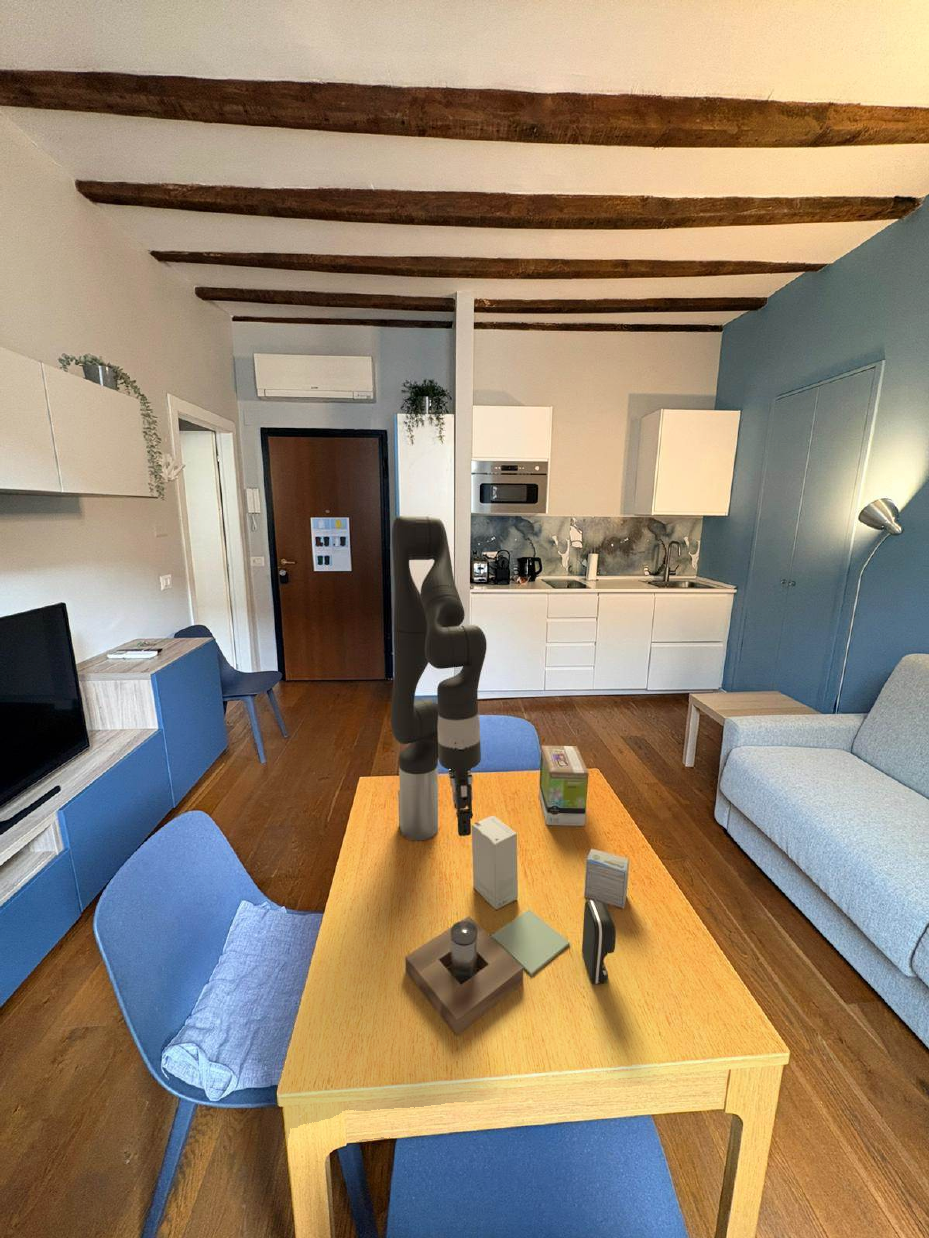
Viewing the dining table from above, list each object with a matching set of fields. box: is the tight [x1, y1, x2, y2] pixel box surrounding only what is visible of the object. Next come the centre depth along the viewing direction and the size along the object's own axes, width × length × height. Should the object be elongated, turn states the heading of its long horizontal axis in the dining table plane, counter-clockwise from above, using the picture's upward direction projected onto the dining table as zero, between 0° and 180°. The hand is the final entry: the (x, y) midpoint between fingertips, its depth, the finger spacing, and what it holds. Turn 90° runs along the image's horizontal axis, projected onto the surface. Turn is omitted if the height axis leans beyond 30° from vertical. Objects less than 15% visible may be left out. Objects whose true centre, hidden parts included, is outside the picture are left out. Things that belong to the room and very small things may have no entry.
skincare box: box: [471, 815, 519, 910], centre depth 103 cm, size 8×6×15 cm
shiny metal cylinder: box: [450, 920, 478, 985], centre depth 84 cm, size 4×4×9 cm
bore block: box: [404, 915, 524, 1037], centre depth 85 cm, size 14×14×3 cm
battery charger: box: [581, 899, 617, 985], centre depth 86 cm, size 7×4×11 cm, turn 2°
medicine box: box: [583, 848, 630, 910], centre depth 103 cm, size 8×4×9 cm, turn 65°
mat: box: [490, 908, 571, 976], centre depth 93 cm, size 10×10×1 cm
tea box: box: [538, 745, 589, 827], centre depth 132 cm, size 15×10×15 cm
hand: (462, 820), depth 93 cm, fingers open, 8 cm apart
